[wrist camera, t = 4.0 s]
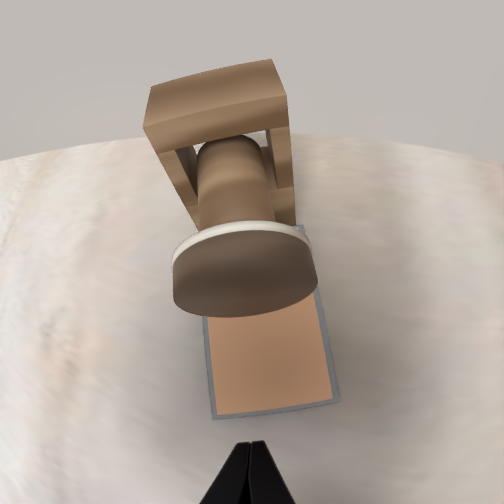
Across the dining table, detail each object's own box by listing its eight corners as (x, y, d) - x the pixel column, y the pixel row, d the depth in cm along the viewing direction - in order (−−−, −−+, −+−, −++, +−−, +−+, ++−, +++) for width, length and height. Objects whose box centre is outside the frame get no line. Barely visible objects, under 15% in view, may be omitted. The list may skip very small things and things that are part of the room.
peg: (315, 304, 16) (322, 249, 11) (198, 323, 17) (146, 280, 11) (287, 182, 20) (279, 104, 15) (192, 201, 21) (157, 131, 15)
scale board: (338, 401, 18) (340, 401, 17) (215, 419, 18) (211, 419, 17) (302, 228, 24) (302, 222, 23) (200, 247, 24) (197, 242, 23)
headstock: (295, 227, 24) (286, 94, 13) (206, 244, 24) (142, 127, 14) (286, 187, 26) (271, 58, 15) (203, 202, 26) (151, 86, 15)
